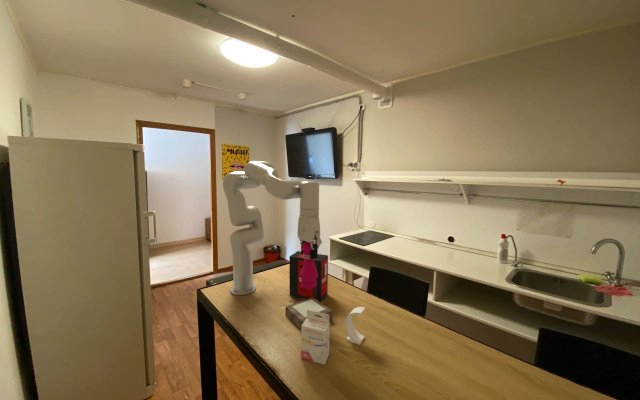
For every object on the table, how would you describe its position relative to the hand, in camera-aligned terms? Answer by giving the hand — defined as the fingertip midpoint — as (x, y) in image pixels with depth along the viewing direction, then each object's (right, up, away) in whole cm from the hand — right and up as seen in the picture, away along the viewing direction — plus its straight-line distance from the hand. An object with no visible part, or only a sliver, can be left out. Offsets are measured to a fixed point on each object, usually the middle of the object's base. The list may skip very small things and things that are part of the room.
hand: (309, 255), depth 104 cm
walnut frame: (0, -27, +3) cm, 27 cm away
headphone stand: (+17, -29, -10) cm, 35 cm away
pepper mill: (0, -13, +2) cm, 13 cm away
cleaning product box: (-1, -24, +23) cm, 33 cm away
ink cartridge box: (+3, -30, -19) cm, 35 cm away
